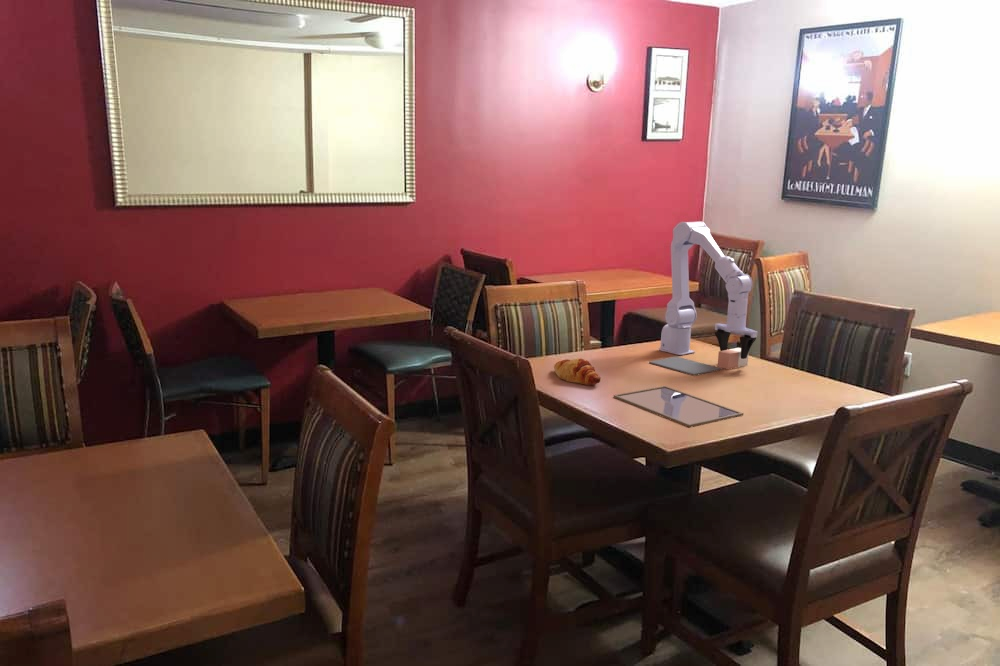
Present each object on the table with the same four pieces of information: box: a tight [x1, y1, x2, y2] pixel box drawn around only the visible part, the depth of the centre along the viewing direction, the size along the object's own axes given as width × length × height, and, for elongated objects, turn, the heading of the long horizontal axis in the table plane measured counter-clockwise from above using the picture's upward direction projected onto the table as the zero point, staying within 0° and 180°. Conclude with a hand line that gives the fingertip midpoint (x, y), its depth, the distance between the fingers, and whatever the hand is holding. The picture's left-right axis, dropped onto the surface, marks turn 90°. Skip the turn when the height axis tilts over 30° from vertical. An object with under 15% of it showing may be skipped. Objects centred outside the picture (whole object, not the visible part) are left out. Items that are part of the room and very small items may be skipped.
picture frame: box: [613, 385, 744, 428], centre depth 204 cm, size 19×1×28 cm
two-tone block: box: [716, 347, 750, 370], centre depth 246 cm, size 4×10×5 cm, turn 127°
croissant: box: [553, 357, 601, 386], centre depth 228 cm, size 21×10×8 cm, turn 32°
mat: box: [648, 355, 722, 376], centre depth 245 cm, size 18×13×1 cm
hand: (733, 355), depth 246 cm, fingers open, 7 cm apart
